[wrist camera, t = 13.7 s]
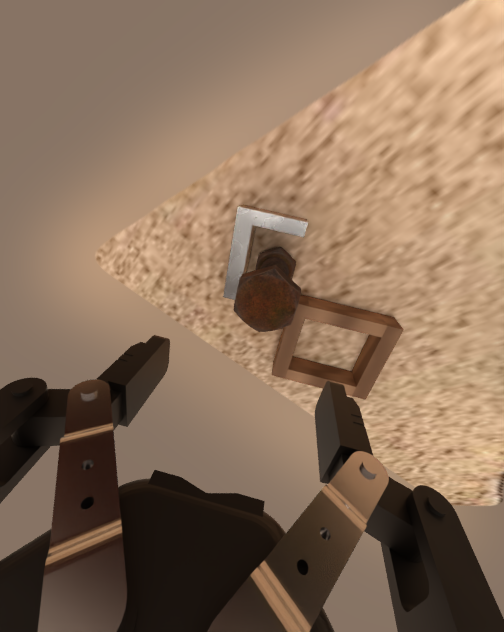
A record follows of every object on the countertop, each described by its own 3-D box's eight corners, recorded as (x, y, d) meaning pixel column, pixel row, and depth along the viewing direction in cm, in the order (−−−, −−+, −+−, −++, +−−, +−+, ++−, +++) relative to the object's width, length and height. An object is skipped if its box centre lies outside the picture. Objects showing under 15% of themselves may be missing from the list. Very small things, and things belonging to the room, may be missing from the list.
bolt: (307, 261, 34) (314, 307, 20) (279, 287, 36) (270, 344, 23) (274, 229, 33) (260, 256, 19) (248, 258, 35) (219, 300, 21)
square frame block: (394, 317, 35) (403, 329, 32) (360, 383, 41) (365, 399, 38) (293, 292, 36) (293, 302, 33) (273, 361, 41) (271, 375, 38)
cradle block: (306, 219, 32) (308, 222, 28) (283, 301, 37) (282, 311, 34) (243, 204, 32) (237, 206, 29) (229, 288, 37) (223, 297, 34)
